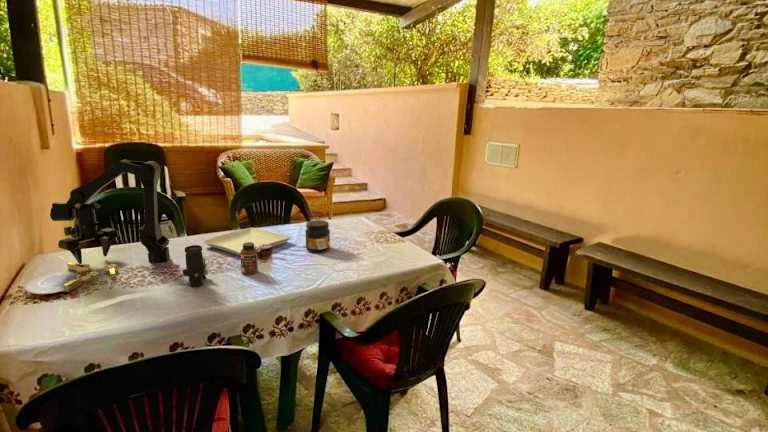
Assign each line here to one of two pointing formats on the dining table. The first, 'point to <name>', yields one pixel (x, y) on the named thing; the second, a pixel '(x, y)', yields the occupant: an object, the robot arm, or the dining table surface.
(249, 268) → the supplement bottle
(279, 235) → the square plate
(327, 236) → the supplement container
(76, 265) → the knob front
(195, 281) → the scope
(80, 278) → the knob left
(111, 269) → the knob near
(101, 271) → the dining table surface
